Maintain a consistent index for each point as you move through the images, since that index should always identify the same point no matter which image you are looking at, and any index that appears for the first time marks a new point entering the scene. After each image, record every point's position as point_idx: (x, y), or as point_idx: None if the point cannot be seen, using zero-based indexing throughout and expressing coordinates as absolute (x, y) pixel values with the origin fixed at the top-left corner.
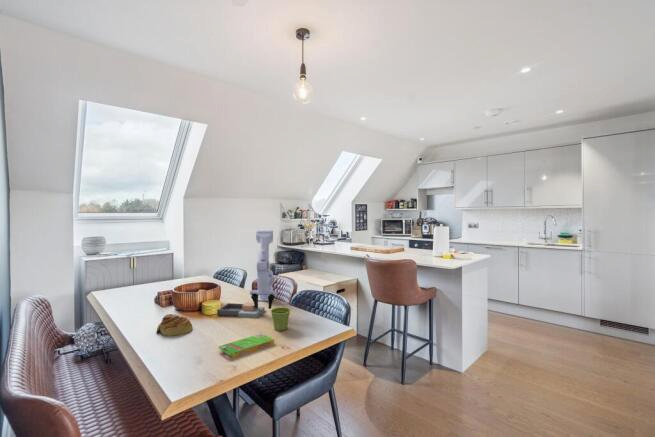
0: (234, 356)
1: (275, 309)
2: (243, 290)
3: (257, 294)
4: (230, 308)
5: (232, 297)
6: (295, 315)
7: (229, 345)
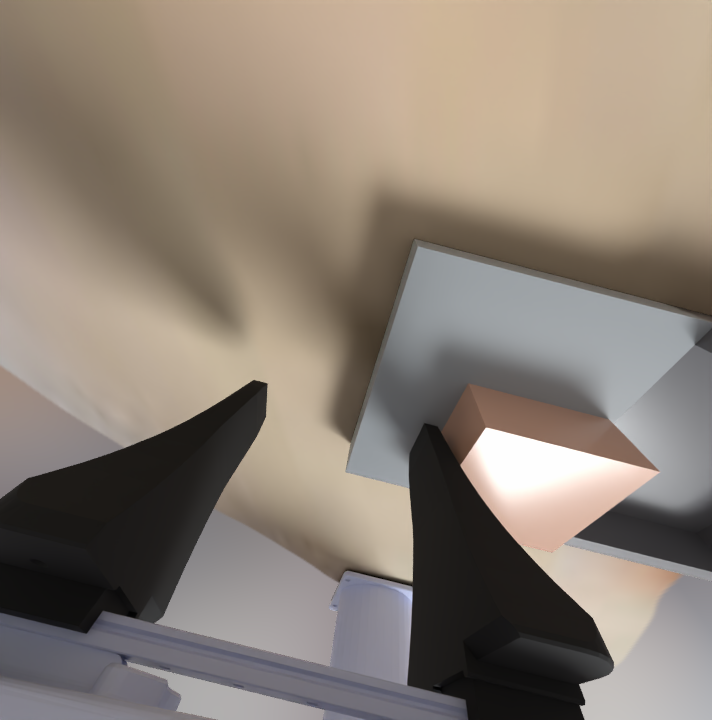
0: None
1: None
2: None
3: (431, 696)
4: (687, 512)
5: None
6: (11, 284)
7: None
